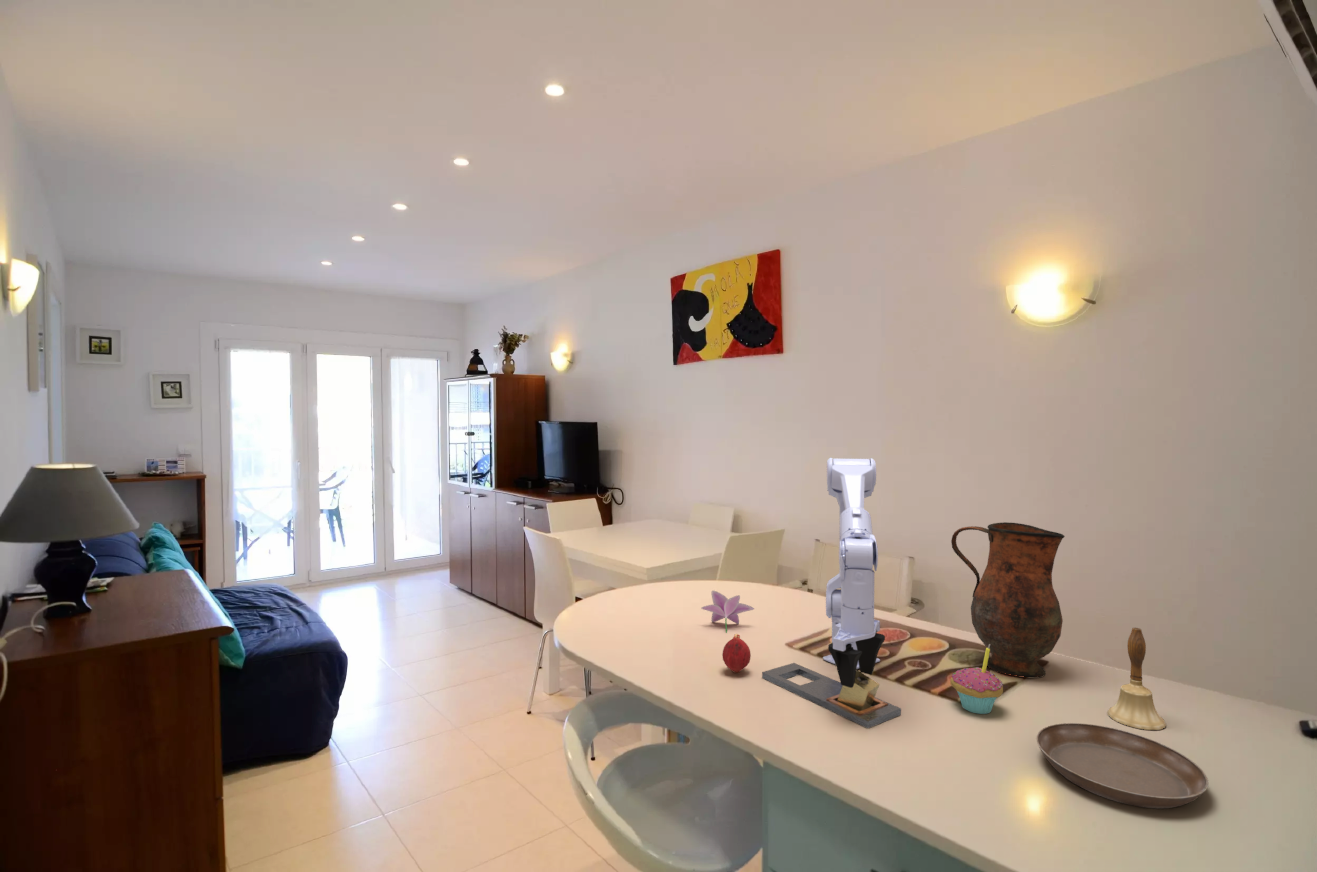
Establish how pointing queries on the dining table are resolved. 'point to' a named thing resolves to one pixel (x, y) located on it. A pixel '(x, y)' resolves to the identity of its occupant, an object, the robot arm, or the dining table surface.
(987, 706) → the cupcake
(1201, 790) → the plant saucer
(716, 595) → the lily
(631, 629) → the dining table surface
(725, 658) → the pomegranate
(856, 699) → the brass cube with hole
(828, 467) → the robot arm
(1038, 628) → the pitcher
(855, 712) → the rail
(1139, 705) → the hand bell
